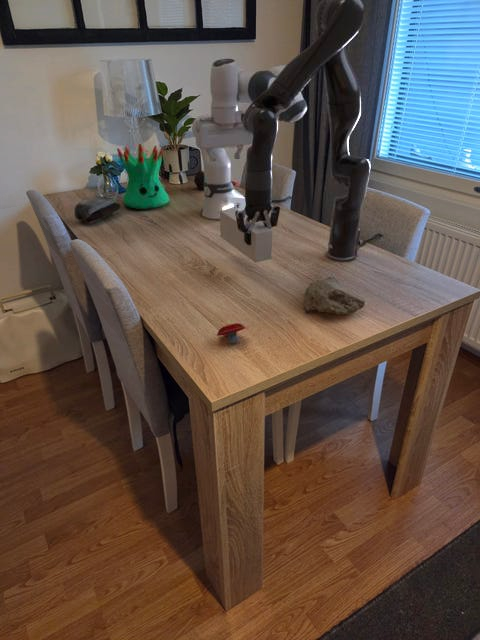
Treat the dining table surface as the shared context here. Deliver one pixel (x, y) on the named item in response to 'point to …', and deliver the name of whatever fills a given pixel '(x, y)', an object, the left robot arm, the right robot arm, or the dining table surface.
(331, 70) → the right robot arm
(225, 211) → the bar
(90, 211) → the dark grey case
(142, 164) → the toy
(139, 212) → the dining table surface
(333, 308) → the artifact
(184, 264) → the dining table surface
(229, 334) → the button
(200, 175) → the toy
